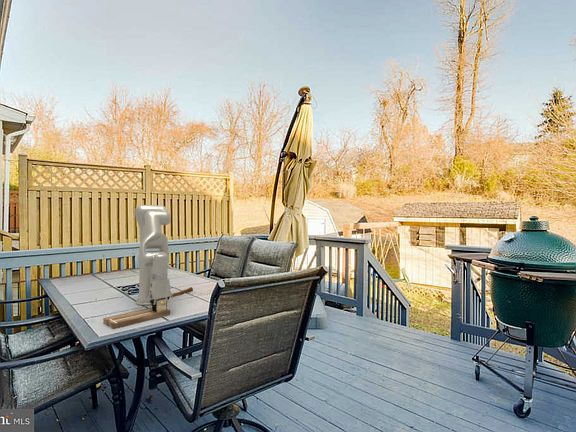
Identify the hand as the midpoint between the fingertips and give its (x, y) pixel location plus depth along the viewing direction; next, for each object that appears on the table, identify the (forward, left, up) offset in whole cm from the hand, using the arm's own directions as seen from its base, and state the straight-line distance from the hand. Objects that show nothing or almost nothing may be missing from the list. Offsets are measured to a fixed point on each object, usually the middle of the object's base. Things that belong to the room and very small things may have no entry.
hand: (159, 309), depth 170 cm
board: (-2, -11, -3) cm, 11 cm away
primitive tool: (-30, +32, -4) cm, 44 cm away
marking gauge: (0, 0, 0) cm, 0 cm away
